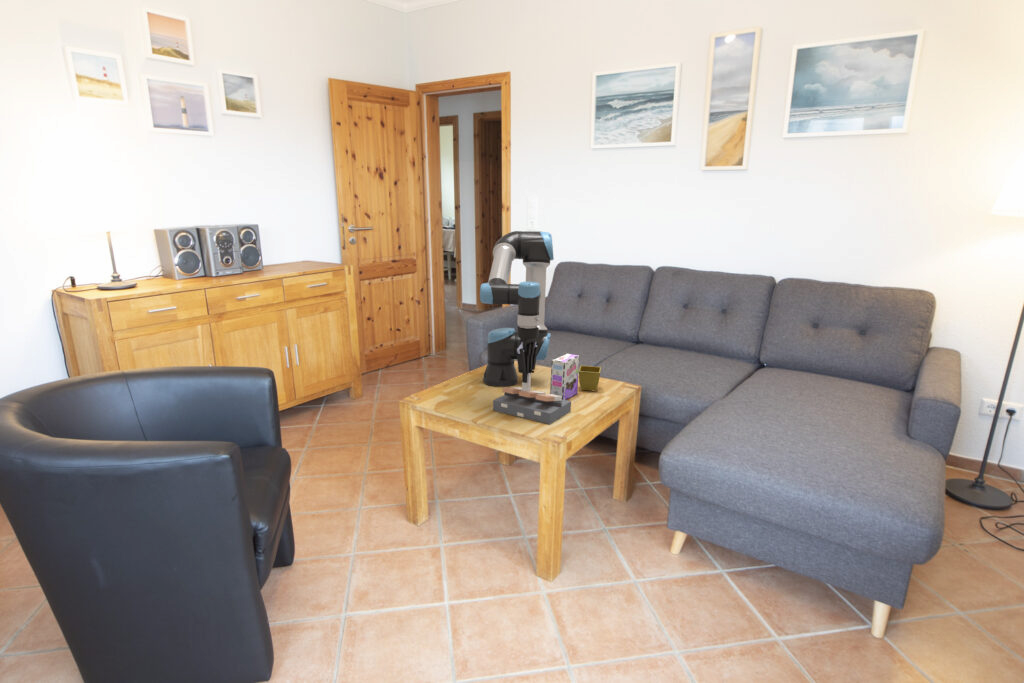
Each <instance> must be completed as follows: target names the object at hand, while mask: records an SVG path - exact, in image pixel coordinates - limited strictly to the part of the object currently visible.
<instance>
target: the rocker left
mask: <svg viewBox="0 0 1024 683" xmlns="http://www.w3.org/2000/svg"><path fill="white" fill-rule="evenodd" d="M519 391H523V390H522V387H519V386H517V387H512V386H511V387H510V386H502V392H503V393H505V392H506V393H511V394H519Z"/></svg>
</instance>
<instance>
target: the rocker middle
mask: <svg viewBox="0 0 1024 683" xmlns="http://www.w3.org/2000/svg"><path fill="white" fill-rule="evenodd" d="M539 394H546V392H544V391H538V390H531V391H529V392H528V391H519V396H524V397H529V398H533V397H536V395H539Z"/></svg>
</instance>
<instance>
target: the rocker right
mask: <svg viewBox="0 0 1024 683" xmlns="http://www.w3.org/2000/svg"><path fill="white" fill-rule="evenodd" d="M536 399H538V400H542V401H561V400H562V396H558V395H554V394H550V393H549V394H548V393H545V394H539V395H536Z"/></svg>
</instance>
